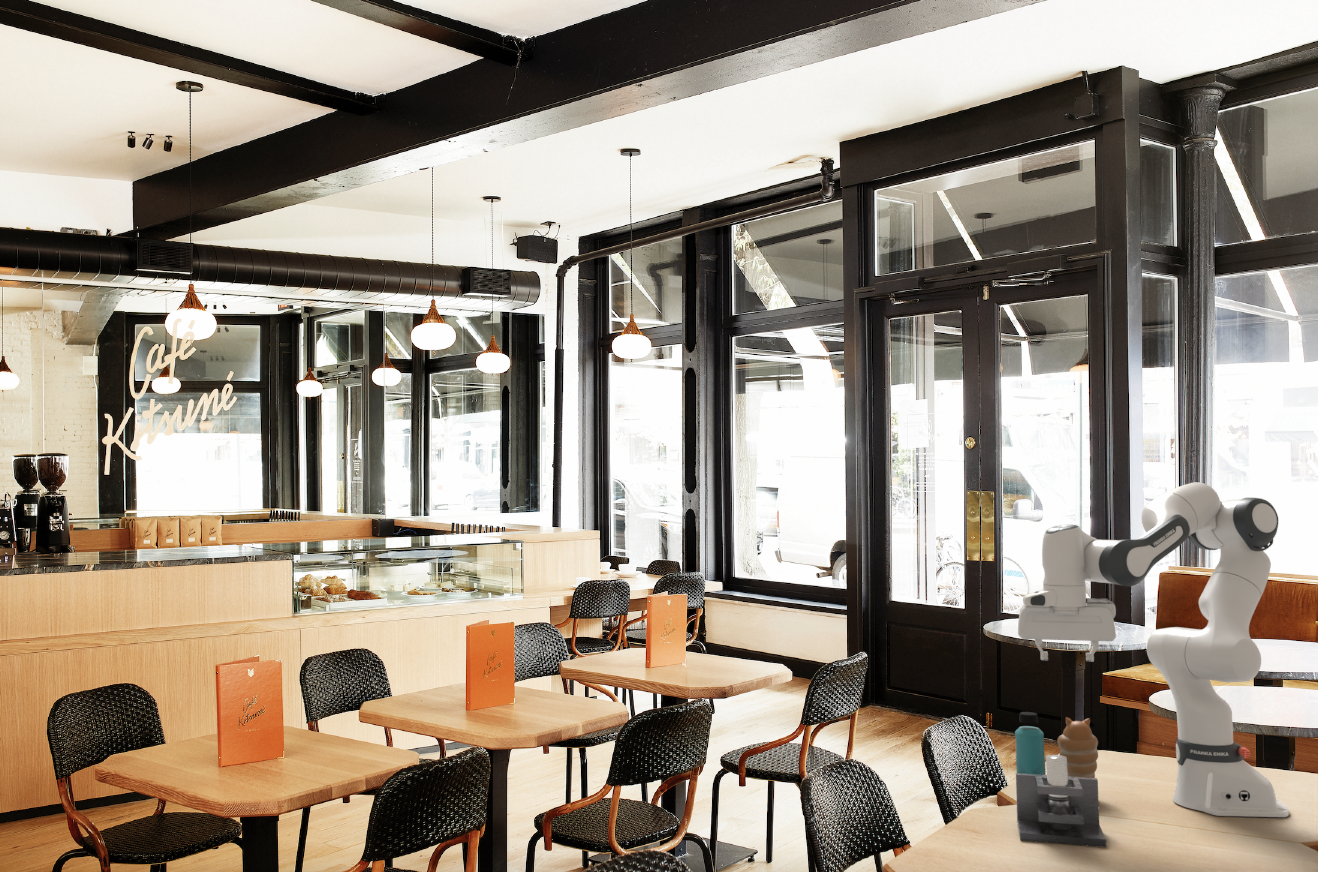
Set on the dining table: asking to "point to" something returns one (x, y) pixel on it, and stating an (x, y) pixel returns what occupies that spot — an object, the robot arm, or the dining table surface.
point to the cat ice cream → (1079, 748)
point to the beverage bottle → (1029, 746)
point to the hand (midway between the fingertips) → (1067, 660)
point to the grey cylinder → (1058, 778)
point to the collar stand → (1037, 816)
